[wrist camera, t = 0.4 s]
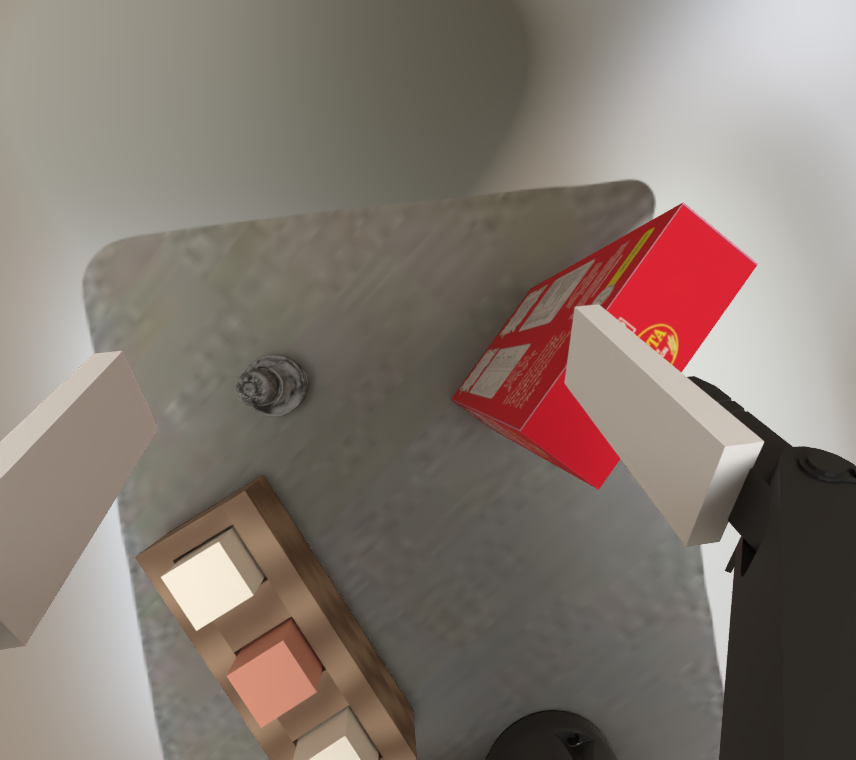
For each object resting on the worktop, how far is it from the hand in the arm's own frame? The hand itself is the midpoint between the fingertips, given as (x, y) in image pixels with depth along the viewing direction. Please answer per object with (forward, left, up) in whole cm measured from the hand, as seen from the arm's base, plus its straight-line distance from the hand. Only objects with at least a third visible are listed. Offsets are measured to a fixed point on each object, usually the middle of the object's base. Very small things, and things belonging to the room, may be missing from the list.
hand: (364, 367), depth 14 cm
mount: (-18, +21, -34) cm, 44 cm away
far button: (-28, +21, -29) cm, 46 cm away
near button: (-8, +21, -29) cm, 37 cm away
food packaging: (-6, -13, -34) cm, 37 cm away
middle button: (-18, +21, -29) cm, 40 cm away
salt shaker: (+4, +9, -34) cm, 35 cm away
